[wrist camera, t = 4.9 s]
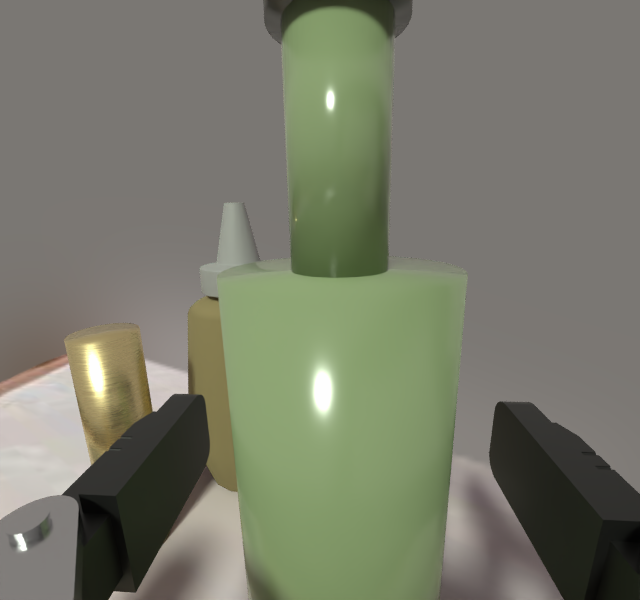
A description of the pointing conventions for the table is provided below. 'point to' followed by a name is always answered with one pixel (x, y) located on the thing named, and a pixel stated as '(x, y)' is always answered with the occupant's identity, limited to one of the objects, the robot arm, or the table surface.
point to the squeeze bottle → (217, 342)
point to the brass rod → (108, 382)
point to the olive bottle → (341, 339)
